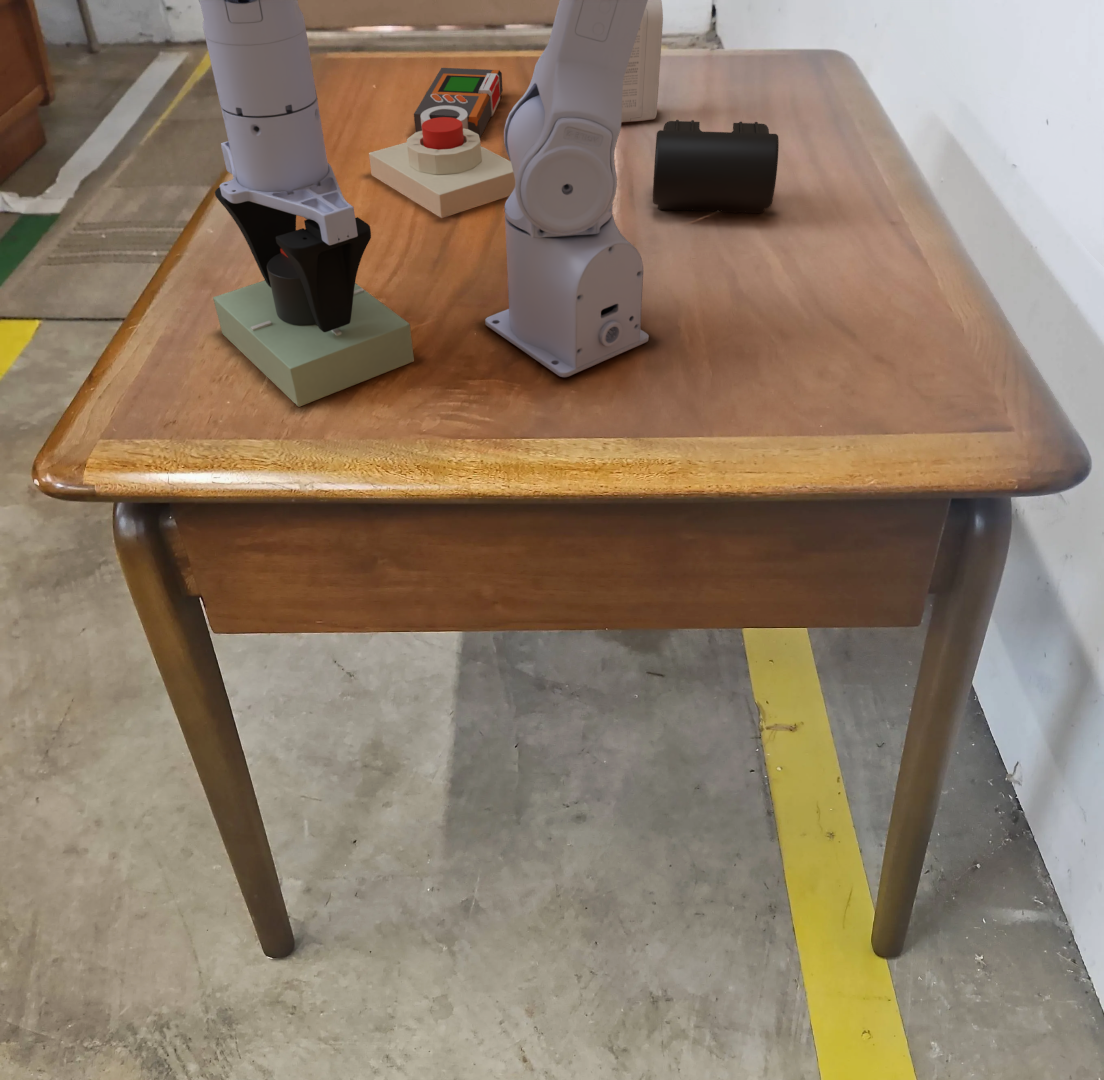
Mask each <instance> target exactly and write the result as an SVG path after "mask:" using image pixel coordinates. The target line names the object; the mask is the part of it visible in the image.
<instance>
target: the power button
mask: <svg viewBox="0 0 1104 1080" xmlns="http://www.w3.org/2000/svg"><path fill="white" fill-rule="evenodd" d="M422 134H423V144H424V146H425V147H426V148H430V149H437V150H441V149H452V148H455V147H459V146H462V145H463V144H464V138H463V124H462V122H461V121H460V120H458V119H455V118H450V117H438V118H433V119H429V120H427V121H425V122H424V123H423V124H422Z"/></svg>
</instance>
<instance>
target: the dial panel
mask: <svg viewBox="0 0 1104 1080" xmlns="http://www.w3.org/2000/svg"><path fill="white" fill-rule="evenodd" d="M212 298H213V300H212V301H213V304H214V307H215V311H216V315H217V319H218V323H219V327H220V330H221V334H222V335H223V336H224V337H225V338H226V339H227V340H228V341H229V342H230V343H231V344H232V345H233V346H234V347H235V348H236V349H237V350H238V351H239V352H241V353H242V355H244V357H246V358H247V359H248V360H249V361H250V362H251V363H252V364H253V365H254V366H255V367H256V368H257V369H258V370H259V371H260V372H261V373H262V374H263V375H264V376H265V377H267V378H268V380H270V382H272V383H273V384H274V385H275V386H276V387H277V388H278V389H279V390H280V391H281V392H282V393H283V394H284V395H285V396H286V397H288V399H289V400H290V401H292V403H294V404H295V405H296V406H297V407H303V406H305V405H307V404H310V403H312V402H315V401H318V400H320V399H322V398H326V397H327V396H330V395H333V394H336V393H339V392H341V391H343V390H345V389H349V388H350V387H353V386H355V385H358V384H360V383H363V382H366V381H368V380H371V379H373V378H375V377H378V376H381V375H384V374H386V373H388V372H391V371H394V370H396V369H398V368H401V367H403V366H406V365H408V364H411V363H414V362H415V356H414V349H413V339H412V329H411V324H410V323H409V322H408V321H406V320H405V319H404V318H403V317H401V316H400V315H399V314H397V313H396V312H395V311H393V310H392V309H391V308H390V307H388V306H387V305H386V304H384V303H383V302H382V301H380V300H379V299H378V298H376V297H375V296H373V295H372V294H371V293H369V292H368V291H367V290H366V289H364V288H363V287H361V286H360V285H359V284H357V282H355V287H354V295H353V305H352V314H351V320H350V323H349V324H347V325H344V326H342V327H339V328H336V329H333V330H331V331H328V332H323V331H322V330H321V329H319V327H318V325H317V324H313V325H293V324H289V323H286V322H284V321H282V320H281V319H280V318H279V317H278V316H277V312H276V308H275V303H274V298H273V294H272V289H271V287H269V286H268V284H267V283H266V281H265V279H264V280H261V281H257V282H255V283H253V284H249V285H246V286H243V287H240V288H237V289H234V290H231V291H228V292H225V293H222V294H219V295H216V296H213V297H212Z"/></svg>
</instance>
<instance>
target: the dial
mask: <svg viewBox="0 0 1104 1080" xmlns="http://www.w3.org/2000/svg"><path fill="white" fill-rule="evenodd" d="M280 251H281V253H280V254H278V255H276V256H274V257H273V258H271V259H270V261H269V262H268V264H267V271H268V275H269V280H270V285H271V289H272V294H273V298H274V303H275V308H276V312H277V316H278V317H279V318H280V319H281V320H282V321H284V322H286V323H289V324H293V325H313V324H317V323H316V322H315V319H314V317H313V315H312V312H311V309H310V306H309V303H308V299H307V296H306V293H305V290H304V287H303V285H302V282H301V280H300V278H299V275H298V274H297V272H296V270H295V268H294V266H293V264H292V263H291V261H290V260H289V258H288V256H287V255H286V254H285V253H284V251H283V250H282V249H280Z"/></svg>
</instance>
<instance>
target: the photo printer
mask: <svg viewBox="0 0 1104 1080" xmlns="http://www.w3.org/2000/svg"><path fill="white" fill-rule="evenodd" d="M663 25H664V9H663V1H662V0H648V1H647V4H646V8H645V11H644V14H643V17H642V20H641V24H640V27H639V30H638V33H637V36H636V40H635V43H634V46H633V49H632V52H631V56H630V59H629V62H628V65H627V68H626V72H625V75H624V78H623V92H622V119H621V123H629V122H632V123H633V122H641V121H642V122H643V121H650V120H651V121H652V120H655V119H656V118H657V113H658V101H659V100H658V99H659V87H660V86H659V85H660V69H661V59H662V58H661V56H662V40H663Z"/></svg>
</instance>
